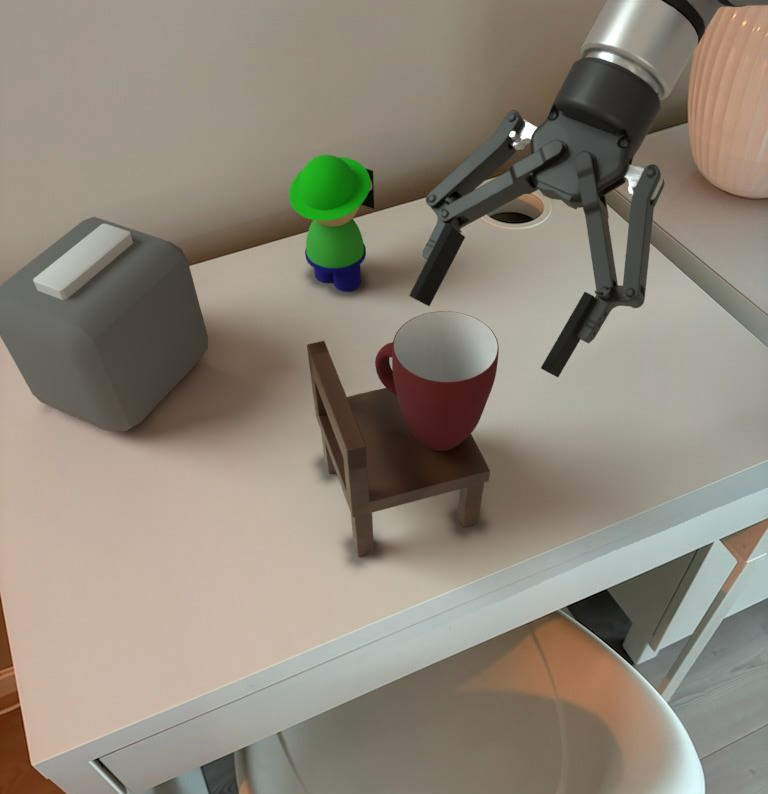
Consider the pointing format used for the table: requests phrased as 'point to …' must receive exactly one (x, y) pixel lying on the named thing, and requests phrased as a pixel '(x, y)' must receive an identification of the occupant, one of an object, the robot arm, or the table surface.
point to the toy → (333, 216)
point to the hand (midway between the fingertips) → (481, 336)
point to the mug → (440, 375)
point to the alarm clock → (104, 323)
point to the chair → (386, 454)
